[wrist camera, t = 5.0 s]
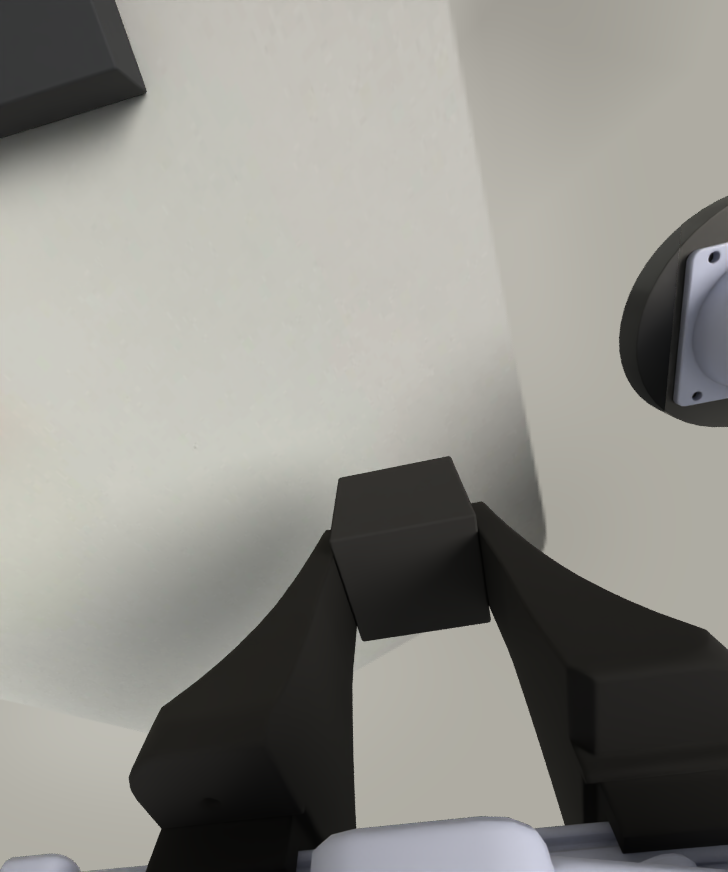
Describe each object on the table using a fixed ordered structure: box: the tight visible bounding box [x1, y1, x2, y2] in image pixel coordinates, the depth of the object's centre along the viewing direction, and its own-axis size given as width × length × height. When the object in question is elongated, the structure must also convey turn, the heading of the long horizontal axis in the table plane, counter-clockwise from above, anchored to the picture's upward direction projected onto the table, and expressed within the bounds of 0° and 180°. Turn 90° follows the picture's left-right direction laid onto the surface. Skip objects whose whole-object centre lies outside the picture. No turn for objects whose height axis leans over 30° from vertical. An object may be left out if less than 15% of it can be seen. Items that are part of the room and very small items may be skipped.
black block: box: [329, 456, 491, 641], centre depth 13 cm, size 4×4×4 cm
